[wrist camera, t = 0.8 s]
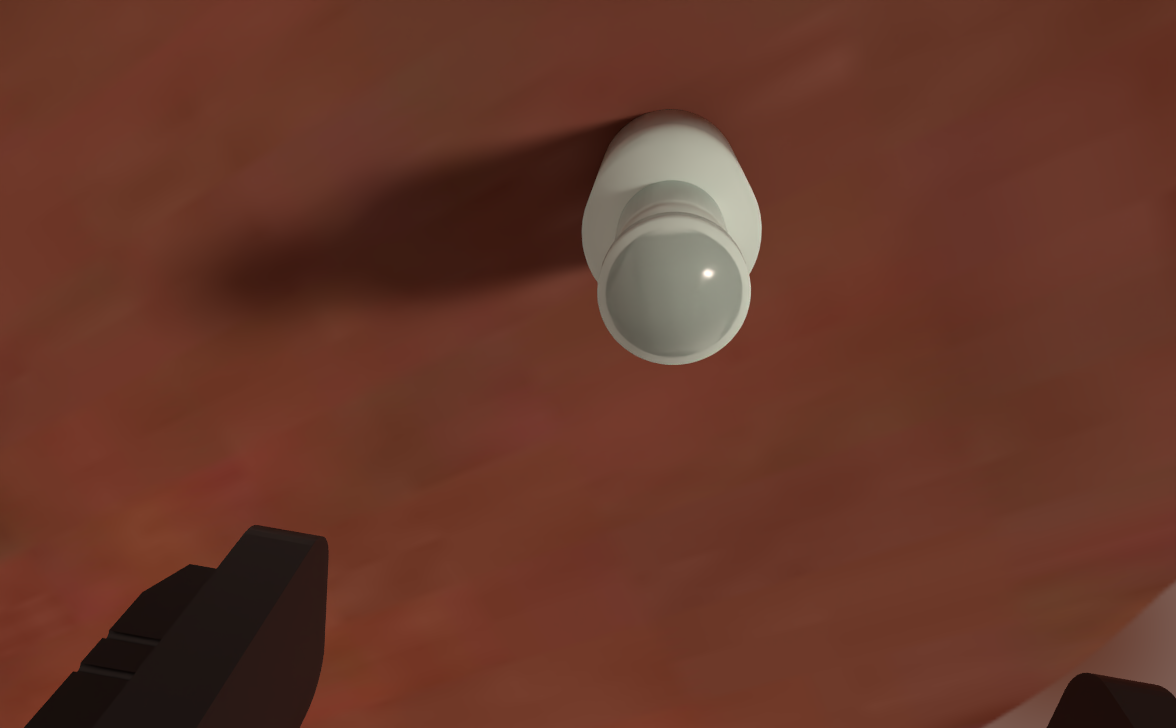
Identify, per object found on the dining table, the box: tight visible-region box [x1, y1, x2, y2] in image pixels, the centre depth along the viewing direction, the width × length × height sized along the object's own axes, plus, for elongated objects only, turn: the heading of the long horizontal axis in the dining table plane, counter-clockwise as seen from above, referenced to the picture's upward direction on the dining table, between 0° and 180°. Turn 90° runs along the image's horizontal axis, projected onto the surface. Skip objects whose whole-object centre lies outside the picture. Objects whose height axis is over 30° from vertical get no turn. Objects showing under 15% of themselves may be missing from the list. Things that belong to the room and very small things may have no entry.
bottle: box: [582, 109, 762, 365], centre depth 28 cm, size 6×6×15 cm
